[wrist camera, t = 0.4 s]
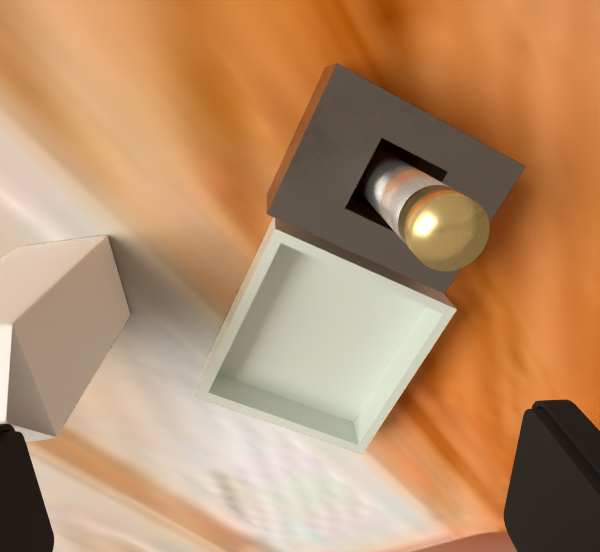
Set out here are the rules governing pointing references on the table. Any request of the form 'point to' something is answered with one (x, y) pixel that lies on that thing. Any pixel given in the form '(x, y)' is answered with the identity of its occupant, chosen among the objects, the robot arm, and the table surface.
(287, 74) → the table surface
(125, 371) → the table surface
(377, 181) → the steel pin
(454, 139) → the hitch block
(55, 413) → the milk carton
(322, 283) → the tray
